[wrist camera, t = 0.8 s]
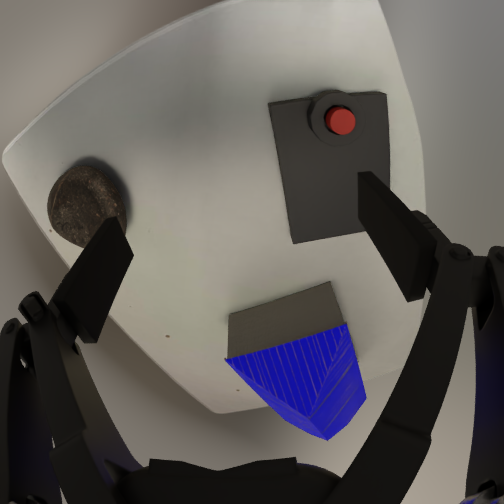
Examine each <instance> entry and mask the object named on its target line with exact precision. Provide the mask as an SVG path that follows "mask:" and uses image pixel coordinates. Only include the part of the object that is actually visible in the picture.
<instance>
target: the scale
mask: <svg viewBox="0 0 504 504" xmlns="http://www.w3.org/2000/svg"><path fill="white" fill-rule="evenodd" d="M268 107H269V112H270V117H271V122H272V127H273V132H274V138H275V143H276V149H277V154H278V160H279V165H280V171H281V177H282V182H283V188H284V194H285V200H286V207H287V213H288V219H289V225H290V232H291V238H292V242H293V244H297V243H303V242H308V241H314V240H319V239H325V238H330V237H336V236H341V235H347V234H353V233H358V232H364V231H366V230H365V229H364V227H363V226H362V224H361V222H360V221H359V219H358V174H357V172H364V171H372V172H373V173H374V174H375V175H376V176H377V177H378V178H379V179H380V180H381V181H382V182H383V183H384V184H385V185H386V186H387V187H388V188H389V189H390V143H389V122H388V107H387V95H386V93H382V92H363V93H345V92H342V91H339V90H332V91H324V92H322V93H320V94H319V95H318V96H315V97H307V98H299V99H292V100H285V101H278V102H272V103H268ZM334 107H342V108H344V109H347V110H349V111H350V112H351V113H352V114H353V115H354V117H355V127H354V129H353V130H352V131H351V132H350V133H348V134H345V135H341V134H338V133H336V132H334V131H333V130H332V129H331V128H329V126H328V125H327V123H326V115H327V113H328V111H329V110H330V109H332V108H334Z"/></svg>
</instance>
